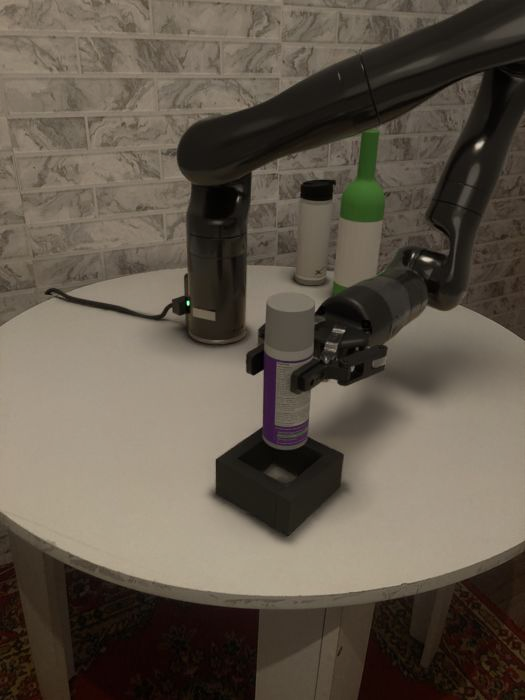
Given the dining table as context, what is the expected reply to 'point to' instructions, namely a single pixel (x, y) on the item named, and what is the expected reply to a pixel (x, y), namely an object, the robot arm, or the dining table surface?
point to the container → (286, 368)
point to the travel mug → (314, 231)
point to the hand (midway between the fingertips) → (271, 374)
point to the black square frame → (271, 495)
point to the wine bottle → (360, 220)
